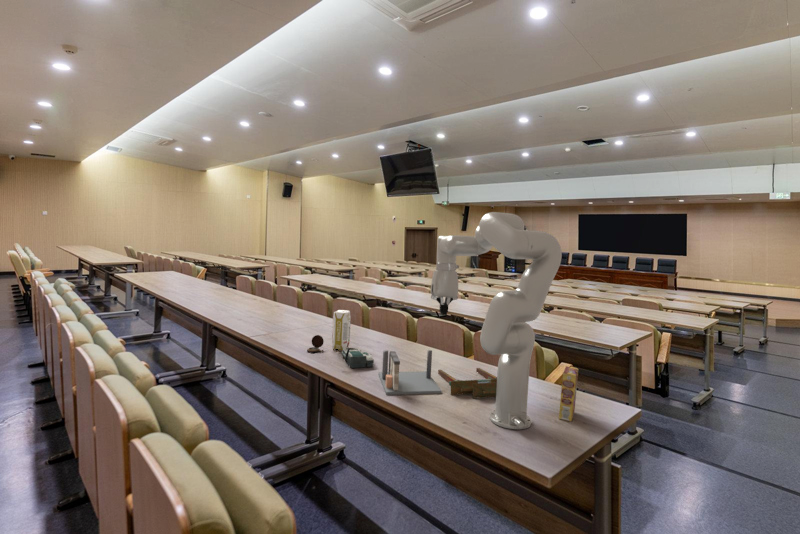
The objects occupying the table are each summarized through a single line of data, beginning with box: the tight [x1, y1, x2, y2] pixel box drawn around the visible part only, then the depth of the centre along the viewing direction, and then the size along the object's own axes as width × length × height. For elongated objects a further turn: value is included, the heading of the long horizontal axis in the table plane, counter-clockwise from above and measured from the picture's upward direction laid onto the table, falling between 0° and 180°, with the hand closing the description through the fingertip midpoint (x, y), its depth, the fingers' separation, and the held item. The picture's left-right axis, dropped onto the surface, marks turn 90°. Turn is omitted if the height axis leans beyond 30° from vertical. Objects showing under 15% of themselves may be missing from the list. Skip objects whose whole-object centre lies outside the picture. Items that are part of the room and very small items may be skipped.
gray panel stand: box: [378, 349, 443, 396], centre depth 156 cm, size 22×20×12 cm
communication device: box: [340, 347, 375, 369], centre depth 184 cm, size 12×24×9 cm, turn 19°
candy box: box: [558, 366, 579, 422], centre depth 132 cm, size 9×4×15 cm, turn 151°
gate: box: [388, 350, 401, 390], centre depth 152 cm, size 15×2×11 cm, turn 8°
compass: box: [307, 334, 325, 353], centre depth 196 cm, size 8×8×7 cm
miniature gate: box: [437, 367, 497, 399], centre depth 158 cm, size 27×6×30 cm
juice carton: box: [331, 309, 352, 351], centre depth 202 cm, size 8×9×19 cm
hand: (443, 314), depth 158 cm, fingers closed
